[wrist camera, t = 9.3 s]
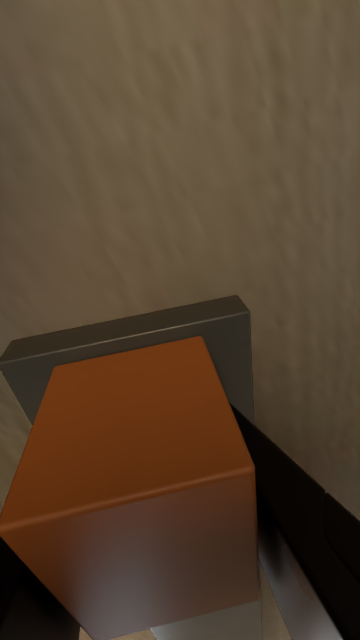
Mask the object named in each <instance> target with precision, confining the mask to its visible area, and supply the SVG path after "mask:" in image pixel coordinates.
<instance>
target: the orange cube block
mask: <svg viewBox="0 0 360 640" xmlns="http://www.w3.org/2000/svg"><path fill="white" fill-rule="evenodd" d="M0 537H1V538H2V539H3V540H4V541H5V542H6V543H7V544H8V545H9V547H10V548H11V549H12V550H13V551H14V552H15V553H16V554H17V556H18V557H19V558H20V559H21V560H22V561H23V562H24V563H25V565H26V566H27V567H28V568H29V569H30V570H31V571H32V572H33V573H34V575H35V576H36V577H37V578H38V579H39V580H40V581H41V582H42V584H43V585H44V586H45V587H46V588H47V589H48V590H49V591H50V592H51V594H52V595H53V596H54V597H55V598H56V599H57V600H58V601H59V603H60V604H61V605H62V606H63V607H64V608H65V609H66V610H67V611H68V613H69V614H70V615H71V616H72V617H73V618H74V619H75V620H76V622H77V623H78V624H79V625H80V626H81V627H82V628H83V629H84V630H85V632H86V633H87V634H88V635H89V636H90V637H91V638H92V639H93V640H108V639H112V638H115V637H119V636H123V635H127V634H131V633H135V632H139V631H142V630H146V629H150V628H154V627H158V626H162V625H165V624H169V623H173V622H177V621H181V620H185V619H189V618H192V617H196V616H200V615H204V614H208V613H212V612H215V611H219V610H223V609H227V608H231V607H235V606H239V605H242V604H246V603H250V602H254V601H258V600H259V599H260V575H259V552H258V528H257V504H256V481H255V466H254V463H253V461H252V458H251V456H250V453H249V451H248V449H247V446H246V444H245V441H244V439H243V436H242V434H241V431H240V429H239V426H238V424H237V421H236V419H235V416H234V414H233V411H232V409H231V406H230V404H229V401H228V399H227V396H226V394H225V391H224V389H223V386H222V384H221V381H220V379H219V376H218V374H217V371H216V369H215V366H214V364H213V361H212V359H211V356H210V354H209V351H208V349H207V346H206V344H205V341H204V339H203V338H202V337H201V336H196V337H192V338H187V339H182V340H177V341H172V342H168V343H163V344H158V345H153V346H149V347H144V348H139V349H134V350H129V351H125V352H120V353H115V354H110V355H106V356H101V357H96V358H91V359H86V360H82V361H77V362H72V363H67V364H63V365H58V366H56V367H54V368H53V371H52V374H51V377H50V379H49V382H48V385H47V388H46V391H45V393H44V396H43V399H42V402H41V404H40V407H39V410H38V413H37V415H36V418H35V421H34V424H33V426H32V429H31V432H30V435H29V437H28V440H27V443H26V446H25V448H24V451H23V454H22V457H21V459H20V462H19V465H18V468H17V470H16V473H15V476H14V479H13V481H12V484H11V487H10V490H9V492H8V495H7V498H6V501H5V504H4V506H3V509H2V512H1V515H0Z"/></svg>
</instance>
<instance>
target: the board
mask: <svg viewBox="0 0 360 640" xmlns="http://www.w3.org/2000/svg"><path fill="white" fill-rule="evenodd" d="M196 336H201V337H202V338H203V339H204V341H205V344H206V346H207V349H208V351H209V354H210V356H211V359H212V361H213V364H214V366H215V369H216V371H217V374H218V376H219V379H220V381H221V384H222V386H223V389H224V391H225V394H226V396H227V399H228V401H229V402H230V403H231V404H232V405H233V406H234V407H235V408H236V409H237V410H238V411H240V412H241V413H242V414H243V415H244V416H245V417H246V418H247V419H248V420H249V421H250V422H252V423H253V424H254V403H253V377H252V350H251V323H250V311H249V310H248V308H247V307H246V306H245V304H244V303H243V302H242V300H241V299H240V298H239V297H238V296H237V295H235V296H230V297H225V298H220V299H215V300H210V301H206V302H201V303H196V304H191V305H186V306H181V307H176V308H171V309H166V310H161V311H156V312H151V313H146V314H141V315H137V316H132V317H127V318H122V319H117V320H112V321H107V322H102V323H97V324H92V325H87V326H82V327H77V328H72V329H68V330H63V331H58V332H53V333H48V334H43V335H38V336H33V337H28V338H23V339H18V340H13V341H11V342H10V344H9V346H8V347H7V349H6V350H5V352H4V353H3V355H2V357H1V358H0V370H1V371H2V373H3V375H4V377H5V378H6V380H7V382H8V384H9V385H10V387H11V389H12V390H13V392H14V394H15V396H16V397H17V399H18V401H19V403H20V404H21V406H22V408H23V409H24V411H25V413H26V415H27V416H28V418H29V420H30V422H31V423H32V425H33V424H34V421H35V418H36V415H37V413H38V410H39V407H40V404H41V402H42V399H43V396H44V393H45V391H46V388H47V385H48V382H49V379H50V377H51V374H52V371H53V368H54V367H56V366H58V365H63V364H67V363H72V362H77V361H82V360H86V359H91V358H96V357H101V356H106V355H110V354H115V353H120V352H125V351H129V350H134V349H139V348H144V347H149V346H153V345H158V344H163V343H168V342H172V341H177V340H182V339H187V338H192V337H196ZM259 575H260V564H259ZM150 629H151V631H152V633H153V635H154V636H155V638H156V640H262V618H261V591H260V599H259V600H258V601H254V602H250V603H246V604H242V605H239V606H235V607H231V608H227V609H223V610H219V611H215V612H212V613H208V614H204V615H200V616H196V617H192V618H189V619H185V620H181V621H177V622H173V623H169V624H165V625H162V626H158V627H154V628H150Z"/></svg>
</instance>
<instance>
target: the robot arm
mask: <svg viewBox="0 0 360 640" xmlns="http://www.w3.org/2000/svg"><path fill="white" fill-rule="evenodd" d="M229 404H230V406H231V409H232V411H233V414H234V416H235V419H236V421H237V424H238V426H239V429H240V431H241V434H242V436H243V439H244V441H245V444H246V446H247V449H248V451H249V453H250V456H251V458H252V461H253V463H254V466H255V481H256V504H257V528H258V552H259V559H260V561H261V564H262V566H263V569H264V571H265V574H266V576H267V579H268V582H269V584H270V587H271V589H272V592H273V594H274V597H275V599H276V602H277V604H278V607H279V609H280V612H281V614H282V617H283V620H284V622H285V625H286V627H287V630H288V632H289V635H290V637H291V640H360V521H359V520H358V519H357V518H356V517H355V516H353V515H352V514H351V513H350V512H349V511H348V510H347V509H345V508H344V507H343V506H342V505H341V504H340V503H339V502H338V501H337V500H336V499H334V498H333V497H332V496H331V495H330V494H329V493H326V494H325V490H324V489H323V488H322V487H321V486H320V485H319V484H318V483H317V482H316V481H315V480H314V479H313V478H311V477H310V476H309V475H308V474H307V473H306V472H305V471H304V470H303V469H302V468H301V467H299V466H298V465H297V464H296V463H295V462H294V461H293V460H292V459H291V458H290V457H289V456H287V455H286V454H285V453H284V452H283V451H282V450H281V449H280V448H279V447H278V446H277V445H275V444H274V443H273V442H272V441H271V440H270V439H269V438H268V437H267V436H266V435H265V434H263V433H262V432H261V431H260V430H259V429H258V428H257V427H256V426H255V425H254V424H253V423H252V422H250V421H249V420H248V419H247V418H246V417H245V416H244V415H243V414H242V413H241V412H240V411H238V410H237V409H236V408H235V407H234V406H233V405H232V404H231V403H230V402H229ZM79 632H80V625H79V624H78V623H77V622H76V620H75V619H74V618H73V617H72V616H71V615H70V614H69V613H68V611H67V610H66V609H65V608H64V607H63V606H62V605H61V604H60V603H59V601H58V600H57V599H56V598H55V597H54V596H53V595H52V594H51V592H50V591H49V590H48V589H47V588H46V587H45V586H44V585H43V584H42V582H41V581H40V580H39V579H38V578H37V577H36V576H35V575H34V573H33V572H32V571H31V570H30V569H29V568H28V567H27V566H26V565H25V563H24V562H23V561H22V560H21V559H20V558H19V557H18V556H17V554H16V553H15V552H14V551H13V550H12V549H11V548H10V547H9V545H8V544H7V543H6V542H5V541H4V540H3V539H2V538H1V537H0V640H79Z"/></svg>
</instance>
